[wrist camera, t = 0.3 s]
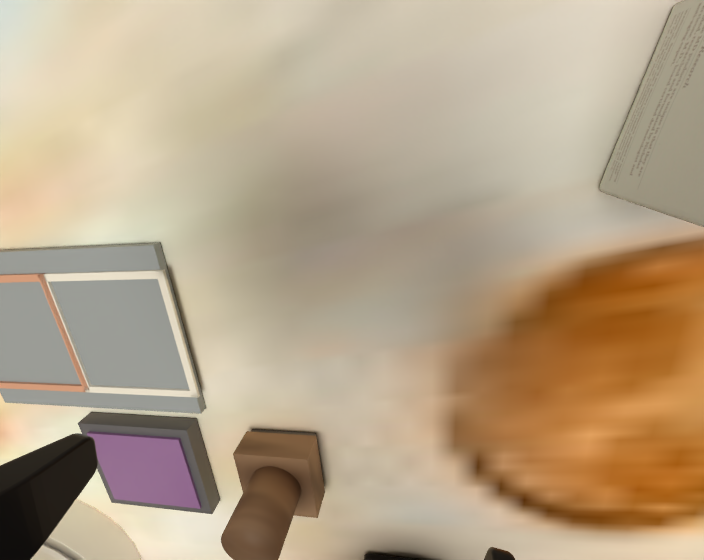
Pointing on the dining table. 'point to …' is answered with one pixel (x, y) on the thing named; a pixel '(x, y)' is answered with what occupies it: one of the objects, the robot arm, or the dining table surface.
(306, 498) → the stamp
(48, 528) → the robot arm
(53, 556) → the honey pot
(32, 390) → the board
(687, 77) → the supplement box
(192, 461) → the ink pad
